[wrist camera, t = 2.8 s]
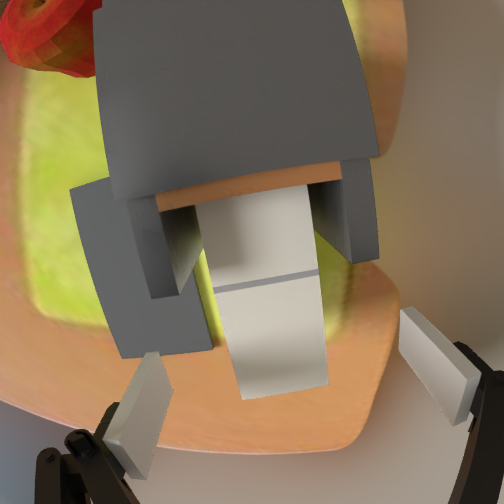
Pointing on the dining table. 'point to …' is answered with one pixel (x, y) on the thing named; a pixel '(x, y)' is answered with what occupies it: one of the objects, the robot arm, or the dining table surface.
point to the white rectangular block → (267, 289)
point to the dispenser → (232, 119)
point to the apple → (50, 35)
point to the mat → (133, 282)
